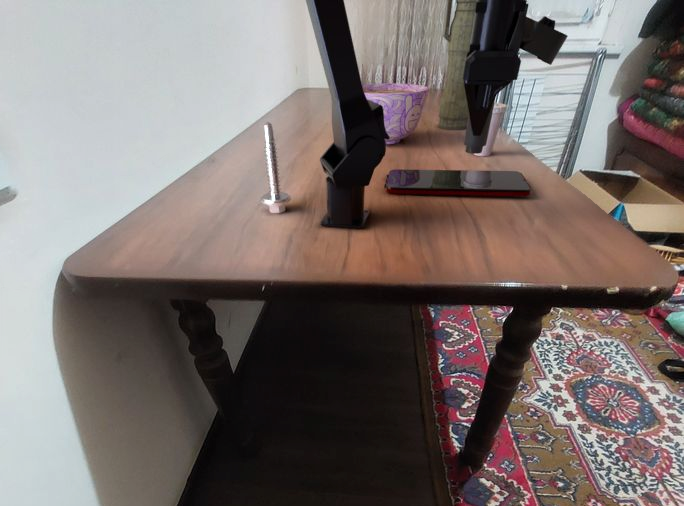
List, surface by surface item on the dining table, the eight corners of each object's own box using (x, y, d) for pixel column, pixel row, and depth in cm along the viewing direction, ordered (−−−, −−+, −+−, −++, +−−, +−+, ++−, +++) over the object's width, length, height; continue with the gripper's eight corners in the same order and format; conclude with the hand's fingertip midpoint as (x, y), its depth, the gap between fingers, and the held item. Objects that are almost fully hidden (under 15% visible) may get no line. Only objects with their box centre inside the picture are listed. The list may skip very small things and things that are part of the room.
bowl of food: (429, 149, 96) (435, 92, 89) (345, 150, 97) (345, 94, 90) (417, 132, 112) (422, 82, 105) (345, 133, 113) (345, 84, 105)
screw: (266, 217, 64) (259, 208, 68) (295, 213, 66) (287, 204, 69) (254, 126, 56) (247, 120, 60) (288, 123, 57) (279, 117, 61)
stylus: (485, 155, 59) (499, 81, 53) (462, 154, 60) (474, 81, 54) (484, 149, 62) (498, 79, 56) (462, 148, 62) (474, 78, 57)
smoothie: (491, 150, 95) (506, 78, 86) (500, 157, 90) (517, 82, 81) (464, 151, 95) (476, 79, 86) (472, 158, 90) (486, 83, 81)
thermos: (428, 124, 120) (447, -39, 98) (467, 122, 121) (494, -39, 99) (437, 130, 113) (459, -43, 91) (478, 128, 114) (510, -44, 92)
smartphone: (388, 168, 80) (520, 169, 76) (387, 176, 81) (518, 178, 77) (383, 187, 71) (534, 190, 67) (383, 196, 72) (531, 199, 68)
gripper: (591, -18, 41) (543, 150, 50) (561, -8, 55) (528, 122, 64) (476, -13, 43) (452, 147, 53) (475, -5, 57) (456, 120, 67)
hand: (476, 133), depth 59 cm, fingers closed on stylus, 3 cm apart
